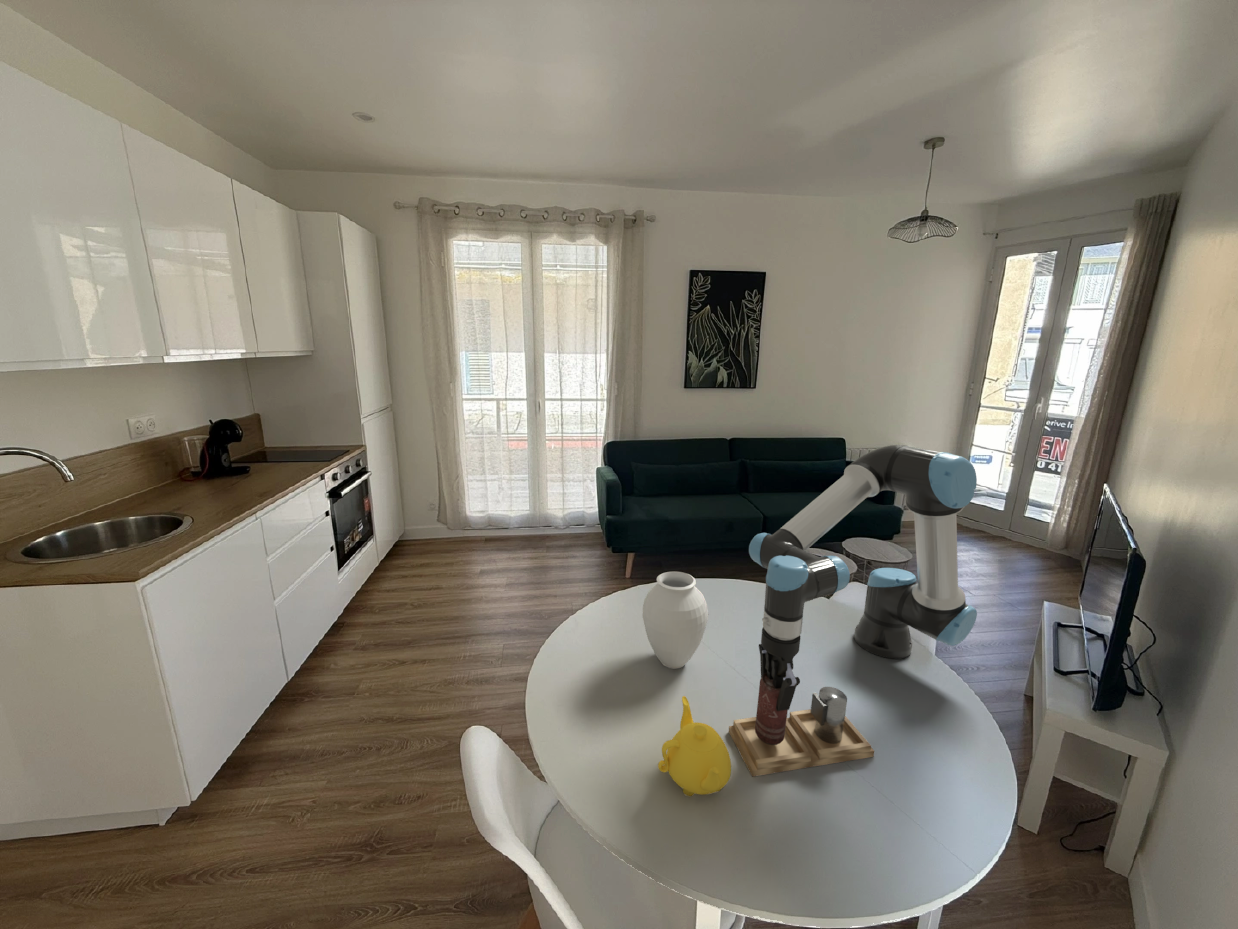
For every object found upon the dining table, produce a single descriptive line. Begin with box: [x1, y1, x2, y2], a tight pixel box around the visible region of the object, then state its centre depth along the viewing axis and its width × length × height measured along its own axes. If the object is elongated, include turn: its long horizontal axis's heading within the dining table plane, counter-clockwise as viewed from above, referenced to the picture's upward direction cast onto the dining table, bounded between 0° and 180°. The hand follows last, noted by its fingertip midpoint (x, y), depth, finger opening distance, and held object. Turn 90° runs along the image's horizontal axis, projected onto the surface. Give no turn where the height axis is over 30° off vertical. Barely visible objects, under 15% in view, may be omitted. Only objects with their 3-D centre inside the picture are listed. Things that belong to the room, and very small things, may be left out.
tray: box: [728, 708, 875, 777], centre depth 105 cm, size 28×12×3 cm, turn 101°
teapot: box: [657, 695, 732, 797], centre depth 96 cm, size 20×15×12 cm
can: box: [755, 673, 789, 745], centre depth 102 cm, size 6×6×14 cm
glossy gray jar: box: [810, 686, 848, 744], centre depth 105 cm, size 6×6×10 cm
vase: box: [642, 570, 709, 670], centre depth 131 cm, size 18×18×25 cm
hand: (771, 727), depth 103 cm, fingers closed
